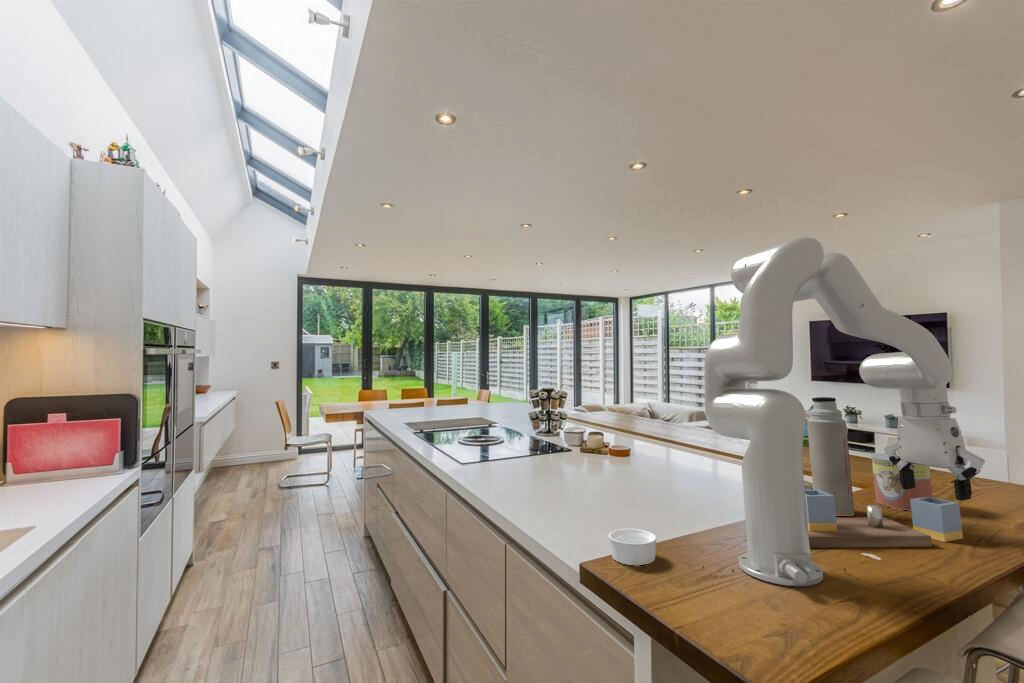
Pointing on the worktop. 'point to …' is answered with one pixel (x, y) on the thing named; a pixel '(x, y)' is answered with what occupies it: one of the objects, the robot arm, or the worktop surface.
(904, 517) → the worktop surface
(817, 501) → the seated sleeve
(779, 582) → the robot arm
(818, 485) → the thermos bottle
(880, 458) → the canned food
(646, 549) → the ramekin
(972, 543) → the worktop surface
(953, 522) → the slate sleeve
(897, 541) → the pin board
